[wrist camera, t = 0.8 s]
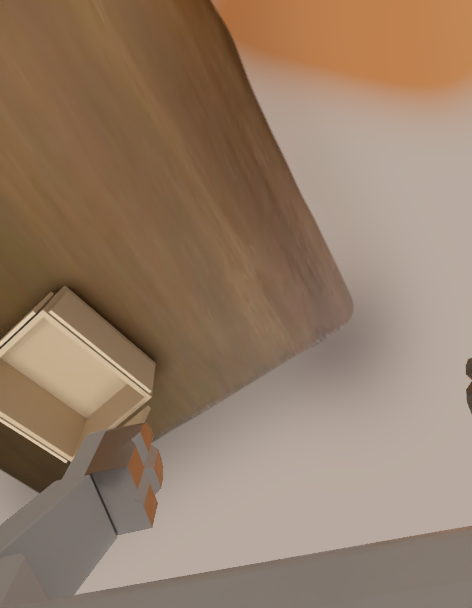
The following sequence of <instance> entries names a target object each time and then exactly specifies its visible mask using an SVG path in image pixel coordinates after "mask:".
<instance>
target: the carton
mask: <svg viewBox="0 0 472 608" xmlns="http://www.w3.org/2000/svg"><path fill="white" fill-rule="evenodd" d="M53 294H54V293H53V292H50V293H49V294H48V295H47V296H46V297H45V298H44V299H43V300H42V301H41V302H40V303H39V304H38V305H36V306H35V307H34V308H33V309H32V310H31V311H30V312H29V313H28V314H27V315H26V316H25V317H24V318H23V319H22V320H21V321H19V322H18V323H17V324H16V325H15V326H14V327H13V328H12V329H11V330H10V331H9V332H8V333H7V334H6V335H5V336H4V337H3V338H1V339H0V422H2V423H3V424H5V425H7V426H8V427H10V428H11V429H13V430H14V431H16V432H18V433H19V434H21V435H22V436H24V437H25V438H27V439H29V440H30V441H32V442H33V443H35V444H36V445H38V446H40V447H41V448H43V449H44V450H46V451H48V452H49V453H51V454H52V455H54V456H55V457H57V458H59V459H60V460H62V461H63V462H65V463H66V462H68V460H69V461H71V462H72V460H73V459H74V457H75V455H76V453H77V451H78V450H79V448H80V446H81V444H82V443H83V441H84V439H85V437H86V436H87V435H88V434H90V433H91V432H96V431H101V430H106V429H108V430H109V429H112V428H115V427H116V426H118V425H119V424H120V423H121V422H122V421H124V420H125V419H126V418H127V417H128V416H130V415H131V414H132V413H133V412H134V411H136V410H137V409H138V408H139V407H140V406H142V405H143V404H144V403H145V402H147V401H148V400H149V399H150V398H151V397H152V391H153V383H154V375H155V367H156V363H155V362H154V361H153V360H152V359H151V358H149V357H148V356H147V355H146V354H145V353H144V352H142V351H141V350H140V349H139V348H138V347H137V346H135V345H134V344H133V343H132V342H131V341H129V340H128V339H127V338H126V337H125V336H124V335H122V334H121V333H120V332H119V331H118V330H117V329H115V328H114V327H113V326H112V325H111V324H110V323H108V322H107V321H106V320H105V319H104V318H103V317H101V316H100V315H99V314H98V313H97V312H95V311H94V310H93V309H92V308H91V307H90V306H88V305H87V304H86V303H85V302H84V301H83V300H81V299H80V298H79V297H78V296H77V295H76V294H74V293H73V292H72V291H71V290H70V289H69V288H67V287H66V286H65V285H64V286H63V287H62V288H61V289H60V290H59V291H58V292H57V293H56V294H55V295H54V296H53V297H52V298H51V296H52V295H53ZM50 298H51V299H50ZM49 299H50V300H49ZM48 300H49V301H48Z"/></svg>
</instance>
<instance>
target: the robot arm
mask: <svg viewBox="0 0 472 608" xmlns="http://www.w3.org/2000/svg"><path fill="white" fill-rule="evenodd" d="M466 375H467V376H468V377H469V378H470V379H471V380H472V358H470V359H468V361H467V364H466ZM466 393H467V403H468V406H469V408H470V410H471V413H472V382H471V384H470V385H469V386H468V388H467V389H466ZM152 439H153V433H152V431H151V428H150V426H149V425H148V424H147V423H140V424H135V425H129V426H123V427H118V428H112V429H109V430H108V429H106V430H101V431H96V432H91V433H90V434H88V435H87V436H86V437H85V439H84V441H83V443H82V444H81V446H80V448H79V450H78V451H77V453H76V455H75V457H74V459H73V460H72V462H71V464H70V466H69V468H68V469H67V471H66V473H65V475H64V476H63V478H62V480H59V481H55V482H54V483H52V484H51V485H50V486H49V487H47V488H46V489H45V490H44V491H42V492H41V493H40V494H39V495H37V496H36V497H35V498H34V499H33V500H31V501H30V502H29V503H28V504H26V505H25V506H24V507H22V508H21V509H20V510H19V511H17V512H16V513H15V514H14V515H12V516H11V517H10V518H9V519H7V520H6V521H5V522H4V523H3V524H1V525H0V608H472V526H468V527H462V528H456V529H451V530H444V531H439V532H433V533H428V534H421V535H416V536H410V537H404V538H399V539H393V540H387V541H382V542H376V543H370V544H365V545H359V546H353V547H347V548H342V549H336V550H330V551H325V552H319V553H313V554H308V555H302V556H296V557H291V558H285V559H279V560H273V561H268V562H262V563H256V564H250V565H245V566H239V567H233V568H228V569H222V570H216V571H210V572H205V573H199V574H193V575H187V576H182V577H176V578H170V579H164V580H159V581H153V582H147V583H142V584H136V585H130V586H124V587H119V588H113V589H107V590H101V591H96V592H90V593H85V594H79V595H74V594H75V593H76V591H77V590H78V589H79V588H80V586H81V585H82V584H83V582H84V581H85V580H86V578H87V577H88V576H89V574H90V573H91V572H92V570H93V569H94V568H95V566H96V565H97V564H98V562H99V561H100V560H101V558H102V557H103V556H104V554H105V553H106V552H107V550H108V549H109V548H110V546H111V545H112V544H113V542H114V541H115V540H116V538H117V535H121V534H125V533H130V532H135V531H139V530H143V529H148V528H152V526H153V522H154V517H155V513H156V509H157V504H158V503H157V500H156V497H155V494H156V493H157V492H158V491H159V490H160V489H161V486H162V480H163V465H162V459H161V456H160V453H159V450H158V449H157V448H156V447H154V446H153V445H151V443H152Z"/></svg>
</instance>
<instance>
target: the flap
mask: <svg viewBox="0 0 472 608" xmlns="http://www.w3.org/2000/svg"><path fill="white" fill-rule="evenodd" d="M150 409H151V408H150V407H149V406H146V407H145V408H144V409H143V410H142V411H140V412H139V413H138V414H137V415H136V416H134V417H133V418H132V419H131V420H130V421H128V422H127V423H126V424H125V425H124V426H129V425H135V424H140V423H144V422H145V420H146V417H147V415H148V413H149V411H150ZM122 427H123V426H122Z"/></svg>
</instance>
